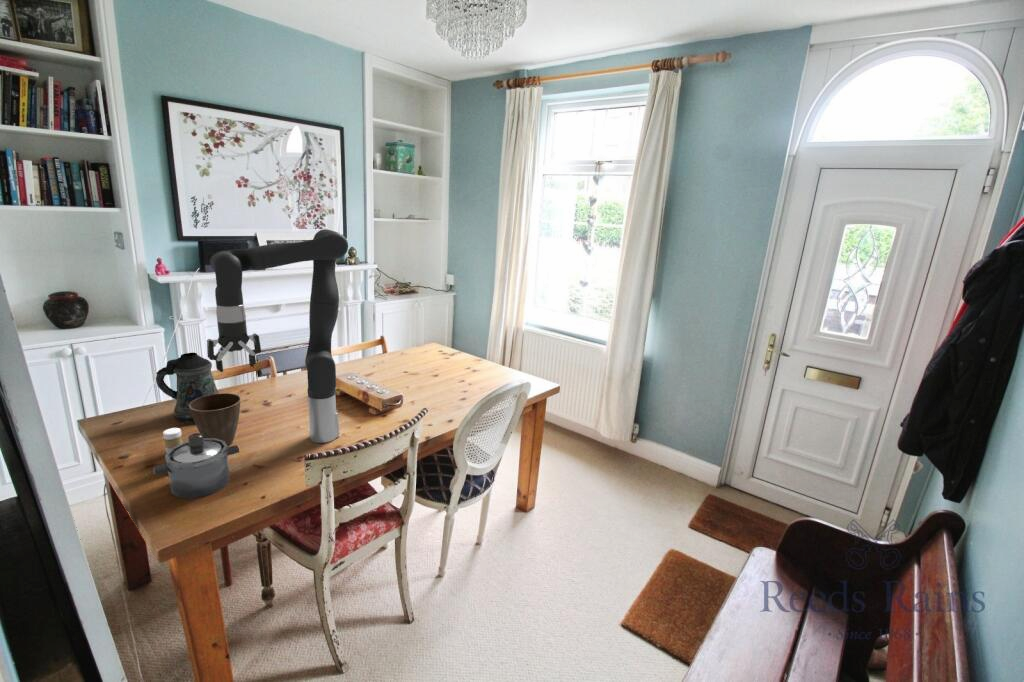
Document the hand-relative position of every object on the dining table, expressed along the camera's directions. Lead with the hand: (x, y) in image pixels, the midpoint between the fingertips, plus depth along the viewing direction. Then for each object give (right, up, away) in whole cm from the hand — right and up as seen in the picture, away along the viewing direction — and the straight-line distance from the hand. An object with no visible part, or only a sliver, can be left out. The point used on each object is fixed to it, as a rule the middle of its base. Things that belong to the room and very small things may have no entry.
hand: (236, 368), depth 147 cm
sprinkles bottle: (-19, -32, +1) cm, 37 cm away
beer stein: (-36, -21, +35) cm, 55 cm away
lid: (-7, -25, -8) cm, 27 cm away
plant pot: (-16, -27, +18) cm, 36 cm away
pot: (-8, -34, -5) cm, 36 cm away
